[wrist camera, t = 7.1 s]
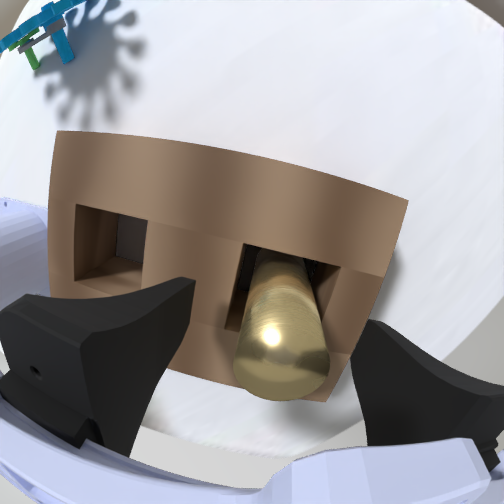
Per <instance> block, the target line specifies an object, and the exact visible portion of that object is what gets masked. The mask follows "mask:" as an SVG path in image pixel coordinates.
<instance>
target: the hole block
mask: <svg viewBox="0 0 504 504" xmlns="http://www.w3.org/2000/svg"><path fill="white" fill-rule="evenodd" d="M408 201H409V200H406V199H403V198H401V197H398V196H395V195H392V194H390V193H387V192H384V191H381V190H378V189H375V188H372V187H369V186H366V185H363V184H360V183H357V182H354V181H350V180H347V179H344V178H341V177H337V176H334V175H330V174H327V173H324V172H320V171H316V170H313V169H309V168H305V167H302V166H298V165H294V164H290V163H286V162H282V161H278V160H274V159H269V158H265V157H261V156H256V155H251V154H247V153H242V152H237V151H232V150H227V149H222V148H216V147H211V146H205V145H199V144H193V143H187V142H180V141H174V140H167V139H159V138H151V137H143V136H133V135H123V134H112V133H99V132H82V131H57V134H56V139H55V145H54V152H53V159H52V166H51V175H50V186H49V199H48V222H47V249H48V272H49V286H50V296H51V297H53V298H67V299H88V298H101V297H110V296H116V295H122V294H126V293H131V292H134V291H138V290H141V289H145V288H148V287H151V286H154V285H157V284H160V283H163V282H165V281H168V280H171V279H174V278H177V277H181V276H182V277H186V278H190V279H194V280H196V284H195V291H194V297H193V304H192V310H191V317H190V324H189V326H188V329H187V331H186V334H185V336H184V338H183V341H182V343H181V345H180V346H179V348H178V350H177V351H176V353H175V355H174V357H173V358H172V360H171V362H170V363H169V365H168V367H167V368H168V369H171V370H174V371H178V372H181V373H184V374H188V375H191V376H195V377H198V378H202V379H206V380H209V381H213V382H217V383H221V384H225V385H229V386H234V387H238V388H243V387H242V386H241V385H240V383H239V382H238V381H237V379H236V377H235V374H234V370H233V360H234V355H235V351H236V347H237V342H238V338H239V333H240V329H241V325H242V320H243V316H244V311H245V307H246V302H247V298H248V294H249V292H248V291H243V290H239V289H237V287H238V282H239V278H240V273H241V269H242V265H243V260H244V256H245V252H246V247H247V244H250V245H254V246H258V247H263V248H267V249H271V250H275V251H279V252H283V253H287V254H291V255H295V256H300V257H304V258H308V259H312V260H316V261H317V265H316V268H315V271H314V274H313V277H312V281H311V288H312V291H313V295H314V299H315V302H316V306H317V310H318V313H319V317H320V321H321V325H322V329H323V332H324V336H325V340H326V344H327V348H328V352H329V356H330V370H329V373H328V376H327V377H326V379H325V381H324V382H323V383H322V384H321V385H320V386H319V387H318V388H317V389H316V390H315V391H313V392H312V393H310V394H308V395H306V396H304V397H301V398H298V399H304V400H311V401H319V402H326V401H327V399H328V397H329V396H330V394H331V392H332V390H333V388H334V387H335V385H336V383H337V381H338V379H339V377H340V375H341V374H342V372H343V370H344V368H345V366H346V364H347V362H348V360H349V358H350V356H351V354H352V352H353V350H354V348H355V345H356V343H357V341H358V339H359V337H360V335H361V333H362V330H363V328H364V326H365V324H366V321H367V319H368V317H369V314H370V312H371V310H372V307H373V305H374V302H375V300H376V298H377V295H378V292H379V290H380V287H381V285H382V282H383V279H384V277H385V274H386V271H387V269H388V266H389V263H390V260H391V257H392V254H393V251H394V248H395V245H396V242H397V239H398V236H399V233H400V229H401V226H402V223H403V219H404V216H405V212H406V209H407V205H408ZM119 214H124V215H128V216H132V217H136V218H141V219H145V220H148V224H147V232H146V241H145V250H144V260H143V264H141V263H138V262H134V261H131V260H128V259H124V258H121V257H117V256H115V252H116V238H117V226H118V216H119ZM243 389H244V388H243Z"/></svg>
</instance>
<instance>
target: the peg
mask: <svg viewBox="0 0 504 504" xmlns="http://www.w3.org/2000/svg"><path fill="white" fill-rule="evenodd" d="M233 370H234V374H235V377H236V379H237V381H238V382H239V383H240V385H241V386H242V387H243V388H244V389H245V390H247V391H248V392H249V393H251V394H253V395H255V396H257V397H260V398H263V399H266V400H272V401H289V400H294V399H298V398H301V397H304V396H306V395H308V394H310V393H312V392H313V391H315V390H316V389H317V388H318V387H319V386H320V385H321V384H322V383H323V382H324V381H325V379H326V377H327V376H328V373H329V370H330V356H329V352H328V348H327V344H326V340H325V336H324V332H323V329H322V325H321V321H320V317H319V313H318V310H317V306H316V302H315V299H314V295H313V291H312V288H311V284H310V281H309V277H308V274H307V270H306V267H305V263H304V260H303V257H300V256H295V255H291V254H287V253H283V252H279V251H275V250H271V249H267V248H262V249H261V250H260V252H259V253H258V255H257V258H256V262H255V267H254V271H253V276H252V280H251V285H250V289H249V294H248V298H247V302H246V307H245V311H244V316H243V320H242V325H241V329H240V333H239V338H238V342H237V347H236V351H235V355H234V360H233Z"/></svg>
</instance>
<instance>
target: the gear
mask: <svg viewBox="0 0 504 504" xmlns="http://www.w3.org/2000/svg"><path fill="white" fill-rule="evenodd" d="M84 1H87V0H60V1H58V2H56V3H55V4H54V3H53V1H52V2H50V3H48V4H46V5H45V6H43V7H42V8H41V10H42V12H40V13H39V14H37V15H35V16H33V17H31V18H30V19H28V20H27V21H25V22H24V23H22V24H21V25H20V26H19V28H17V29H16V30H14V31H13V32H11V33H10V34H8V35H7V36H6V37H4V38H3V39H2V40H1V41H0V53H2V52H3V51H4V50H6V49H7V48H8V49H9V51H12V50H13V49H14V48H16V47H17V46H19V45H20V47H19V48H17V49H18V51H19V53H20V54H21V53H23V52H25V54H26V56H27V58H28V61H29V63H30V65H31V67H32V69H33V70H35V69H36V68H38V67H39V66H40V64H39V62H38V60H37V58H36V56H35V54H34V52H33V49H32V46H33V45H35V44H36V43H38V42H40V41H41V40H43V39H45V38H46V37H48V36H50V35H51V36H52V38H53V41H54V43H55V45H56V48H57V50H58V52H59V55H60V57H61V59H62V61H63V64H65V63H67V62H69V61H71V60H72V59H73V58H75V57H74V54H73V52H72V50H71V47H70V45H69V42H68V40H67V37H66V35H65V32H64V30H63V28H64V27H65V26H66V24H65V21H64V18H63V16H62V14H64V12H65V11H67V10H69V9H71V8H73V7H74V6H76V5H78V4H80V3H82V2H84ZM39 26H41V27H42V26H43V27H44V29H45V32H46V33H44V34H43V35H41V36H39V37H38V38H36V39H35V40H34V39H33V38H32V39H29V38H30V37H31V36H33V35H34V34H36V33H38V32H39V28H38V27H39ZM27 34H28V35H27ZM25 35H26V36H25ZM24 36H25V37H24ZM23 37H24V38H23ZM21 38H22V39H21ZM20 39H21V40H20ZM18 40H19V41H18Z"/></svg>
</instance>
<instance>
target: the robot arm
mask: <svg viewBox="0 0 504 504" xmlns="http://www.w3.org/2000/svg"><path fill="white" fill-rule="evenodd" d="M47 222H48V209H47V208H43V207H39V206H35V205H31V204H28V203H24V202H20V201H16V200H12V199H9V198H5V197H1V198H0V341H1V344H2V348H3V351H4V354H5V357H6V360H7V362H8V365H9V368H10V370H9V371H8V372H7V373H6V374H5V375H3V373H2V372H1V371H0V474H1V475H2V476H4V478H6V479H7V480H8V481H9V482H10V483H12V484H13V485H14V486H15V487H17V488H18V489H19V490H20V491H21V492H23V493H24V494H25V495H27V496H28V497H29V498H31V499H32V500H33V501H35V502H36V503H37V504H504V449H503V450H502V451H500V452H499V453H498V454H496V452H495V450H494V449H495V448H496V447H497V446H498V442H497V440H496V438H497V437H498V435H499V434H500V433H501V432H502V431H503V430H504V386H501V385H497V384H492V383H489V382H486V381H483V380H479V379H477V378H474V377H471V376H468V375H466V374H464V373H462V372H460V371H457V370H455V369H453V368H451V367H449V366H448V365H446V364H444V363H442V362H441V361H439V360H437V359H435V358H434V357H432V356H431V355H429V354H428V353H426V352H425V351H423V350H422V349H420V348H419V347H418V346H416V345H415V344H414V343H412V342H411V341H409V340H408V339H407V338H405V337H404V336H403V335H401V334H400V333H399V332H397V331H396V330H394V329H393V328H391V327H390V326H388V325H387V324H385V323H383V322H381V321H376V320H371V319H368V321H367V323H366V325H365V328H364V330H363V332H362V334H361V336H360V338H359V341H358V343H357V345H356V347H355V349H354V351H353V353H352V355H351V357H350V360H351V369H352V376H353V380H354V384H355V388H356V391H357V395H358V398H359V402H360V405H361V409H362V413H363V417H364V421H365V426H366V435H367V443H368V444H367V445H368V446H363V447H362V446H361V447H360V446H356V447H349V448H341V449H331V450H324V451H321V452H318V453H315V454H312V455H309V456H306V457H302V458H299V459H296V460H294V461H293V462H292V463H290V464H289V465H287V466H286V467H284V468H283V469H282V470H280V471H279V472H277V473H276V474H274V475H273V476H272V477H271V479H270V480H269V482H268V483H267V484H266V486H265V487H264V488H263V489H257V488H256V489H255V488H253V489H252V488H233V487H228V486H223V485H218V484H213V483H209V482H204V481H200V480H196V479H192V478H188V477H184V476H181V475H177V474H174V473H171V472H167V471H164V470H161V469H158V468H155V467H152V466H149V465H146V464H144V463H141V462H138V461H136V460H133V459H131V458H129V456H130V453H131V450H132V447H133V444H134V441H135V439H136V435H137V433H138V430H139V427H140V425H141V422H142V420H143V417H144V414H145V412H146V409H147V407H148V404H149V402H150V400H151V397H152V395H153V393H154V390H155V388H156V386H157V384H158V382H159V380H160V378H161V377H162V375H163V373H164V372H165V370H166V368H167V367H168V365H169V363H170V362H171V360H172V358H173V357H174V355H175V353H176V351H177V350H178V348H179V346H180V345H181V343H182V341H183V338H184V336H185V334H186V331H187V329H188V326H189V324H190V317H191V310H192V304H193V297H194V291H195V284H196V280H194V279H190V278H186V277H182V276H181V277H177V278H174V279H171V280H168V281H165V282H163V283H160V284H157V285H154V286H151V287H148V288H145V289H141V290H138V291H134V292H131V293H126V294H122V295H116V296H110V297H101V298H88V299H67V298H53V297H51V296H50V286H49V272H48V249H47ZM36 294H40V295H42V296H39V295H36Z"/></svg>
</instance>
